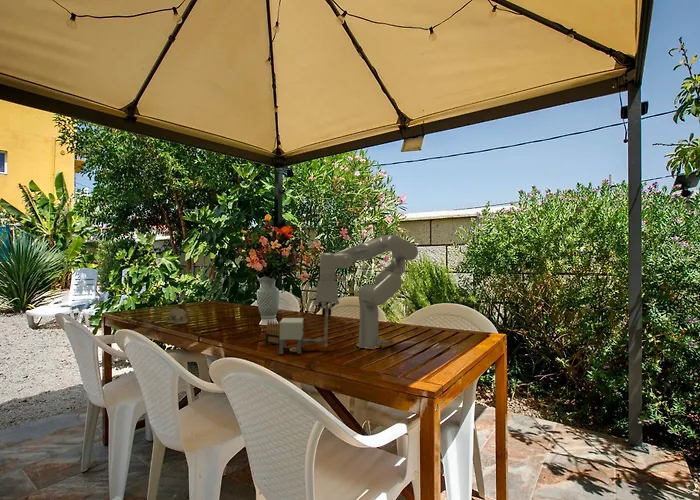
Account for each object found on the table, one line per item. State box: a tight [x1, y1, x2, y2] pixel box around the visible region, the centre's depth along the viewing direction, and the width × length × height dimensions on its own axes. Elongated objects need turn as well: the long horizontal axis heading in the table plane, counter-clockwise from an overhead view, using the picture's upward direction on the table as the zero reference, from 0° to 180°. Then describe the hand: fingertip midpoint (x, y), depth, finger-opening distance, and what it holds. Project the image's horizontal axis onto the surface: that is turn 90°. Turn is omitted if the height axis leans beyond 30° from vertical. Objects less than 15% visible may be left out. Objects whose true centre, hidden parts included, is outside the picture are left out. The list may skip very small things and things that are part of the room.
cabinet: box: [278, 317, 305, 355], centre depth 181 cm, size 11×13×15 cm
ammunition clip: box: [265, 320, 280, 346], centre depth 194 cm, size 11×2×12 cm, turn 59°
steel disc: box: [289, 347, 298, 351], centre depth 180 cm, size 5×5×2 cm
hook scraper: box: [301, 303, 329, 348], centre depth 181 cm, size 13×5×20 cm, turn 94°
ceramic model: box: [165, 307, 189, 325], centre depth 251 cm, size 14×11×10 cm
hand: (326, 316), depth 182 cm, fingers closed on hook scraper, 1 cm apart
